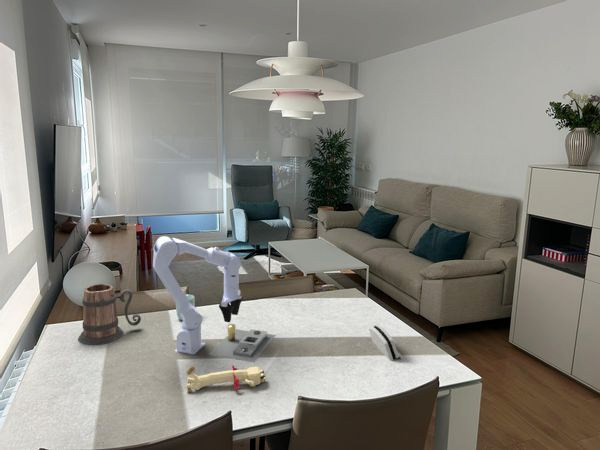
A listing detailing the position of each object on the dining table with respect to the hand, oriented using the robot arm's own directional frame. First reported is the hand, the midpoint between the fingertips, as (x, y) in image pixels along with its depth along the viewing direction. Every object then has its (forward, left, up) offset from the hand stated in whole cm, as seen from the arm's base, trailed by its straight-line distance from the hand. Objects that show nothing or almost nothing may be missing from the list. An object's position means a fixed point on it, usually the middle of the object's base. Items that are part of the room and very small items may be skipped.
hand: (231, 318), depth 176 cm
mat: (-2, -6, -9) cm, 12 cm away
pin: (0, 0, -9) cm, 9 cm away
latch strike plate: (-2, -9, -9) cm, 13 cm away
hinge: (+11, -59, -10) cm, 60 cm away
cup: (+14, +28, -10) cm, 32 cm away
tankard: (-10, +48, -10) cm, 50 cm away
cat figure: (-31, -12, -10) cm, 34 cm away
